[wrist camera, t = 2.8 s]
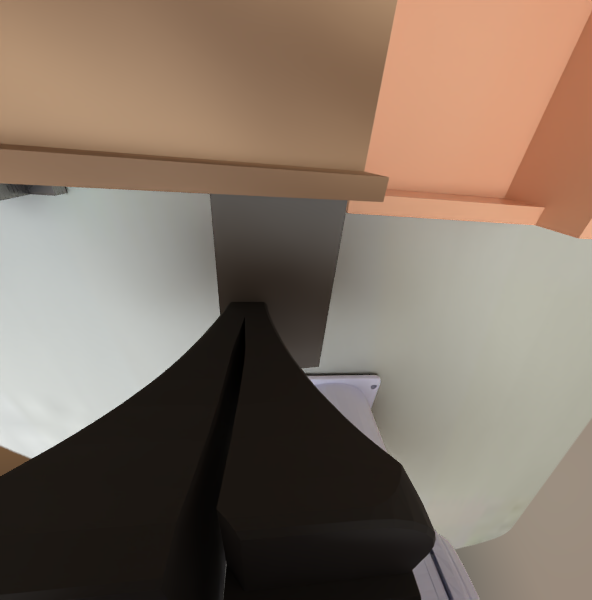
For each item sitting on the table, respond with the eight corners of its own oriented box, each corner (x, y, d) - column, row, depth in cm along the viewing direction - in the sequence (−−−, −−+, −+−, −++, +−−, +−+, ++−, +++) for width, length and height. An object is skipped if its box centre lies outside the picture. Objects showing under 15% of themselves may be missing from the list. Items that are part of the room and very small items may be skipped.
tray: (501, 211, 15) (595, 239, 11) (332, 200, 14) (361, 225, 9) (631, -62, 10) (915, -222, 5) (378, -119, 8) (489, -383, 4)
